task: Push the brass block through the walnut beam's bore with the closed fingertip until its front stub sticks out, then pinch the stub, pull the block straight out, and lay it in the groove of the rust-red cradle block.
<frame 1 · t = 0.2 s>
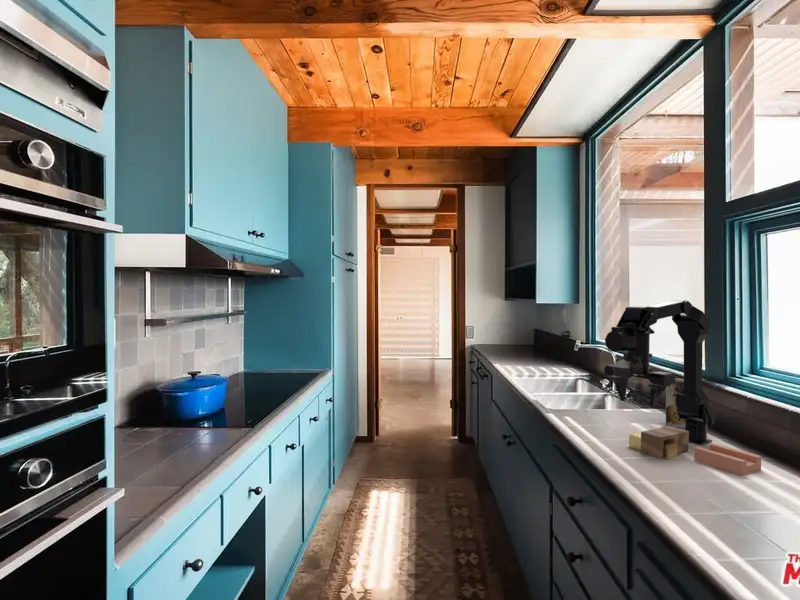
hand: (637, 404, 136), 14 cm above the worktop, fingers open, 9 cm apart
brass block: (652, 452, 138), on the worktop
product box: (680, 426, 165), on the worktop
walnut beam: (658, 453, 136), on the worktop
rust cradle: (726, 464, 128), on the worktop
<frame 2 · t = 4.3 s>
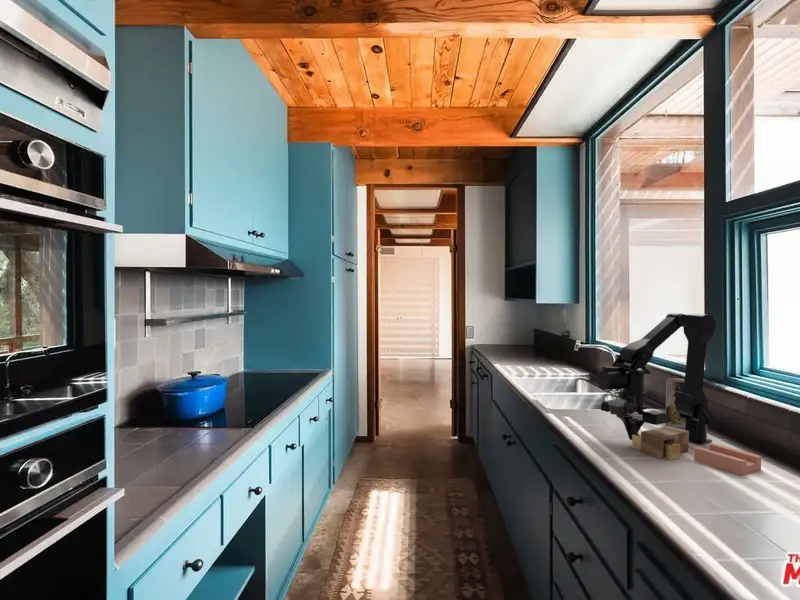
hand: (631, 439, 144), 2 cm above the worktop, fingers closed
brass block: (655, 453, 137), on the worktop, touching gripper
everything else where it was.
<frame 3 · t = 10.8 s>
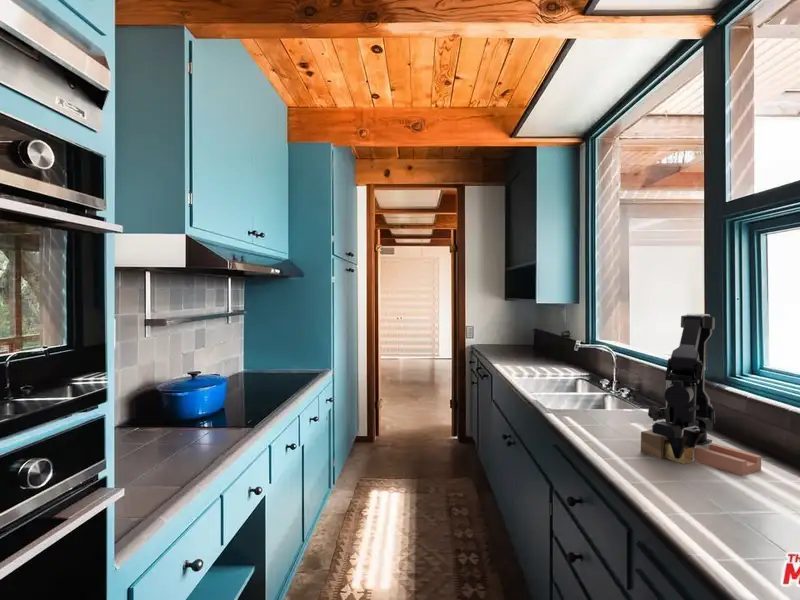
hand: (681, 457, 131), 1 cm above the worktop, fingers closed on brass block, 4 cm apart
brass block: (666, 455, 134), on the worktop, touching gripper
everything else where it was.
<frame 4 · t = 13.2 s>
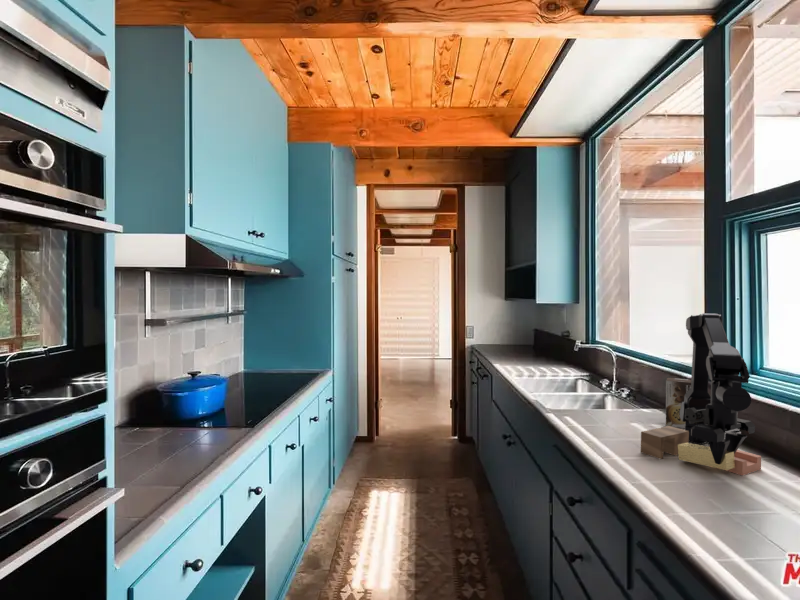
hand: (722, 462, 121), 3 cm above the worktop, fingers closed on brass block, 4 cm apart
brass block: (705, 463, 125), point 1 cm above the worktop, tilted 5°, touching gripper
everything else where it was.
when the fingers open (4 cm above the worktop, at t = 16.2 s): brass block stays where it is, resting on rust cradle.
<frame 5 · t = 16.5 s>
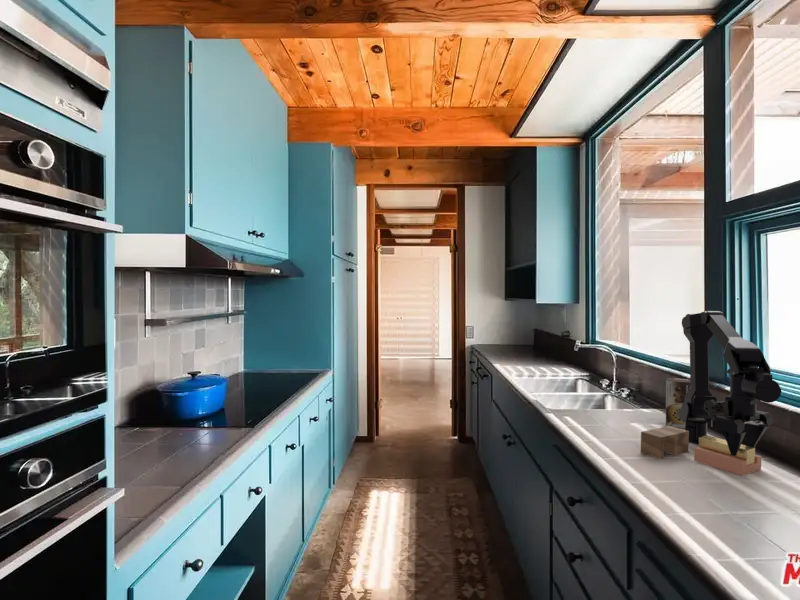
hand: (741, 452, 125), 4 cm above the worktop, fingers open, 8 cm apart
brass block: (725, 457, 128), point 2 cm above the worktop, touching rust cradle
everything else where it was.
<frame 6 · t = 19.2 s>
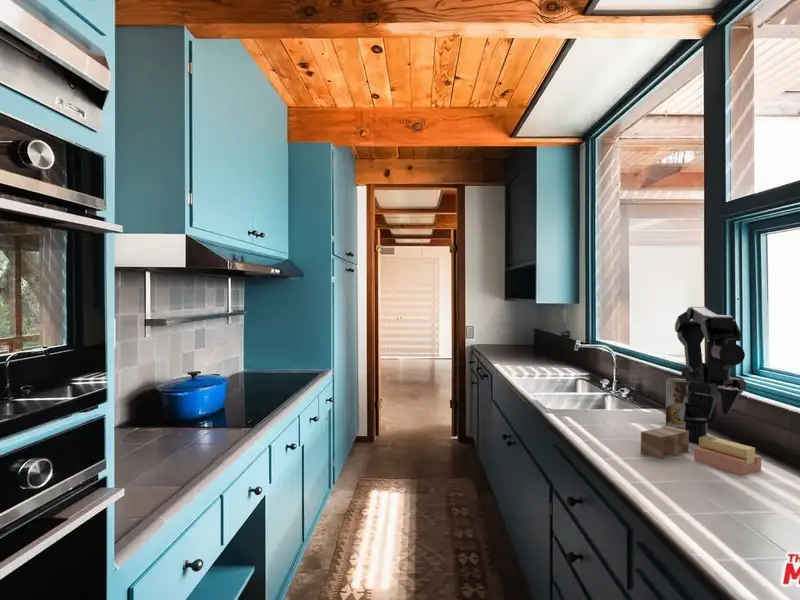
hand: (716, 416, 132), 12 cm above the worktop, fingers open, 9 cm apart
nothing on the worktop moved.
at the end: brass block 0.3 cm off-centre on the rust cradle, point 2.0 cm above the rust cradle's base; the gripper is holding nothing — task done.
